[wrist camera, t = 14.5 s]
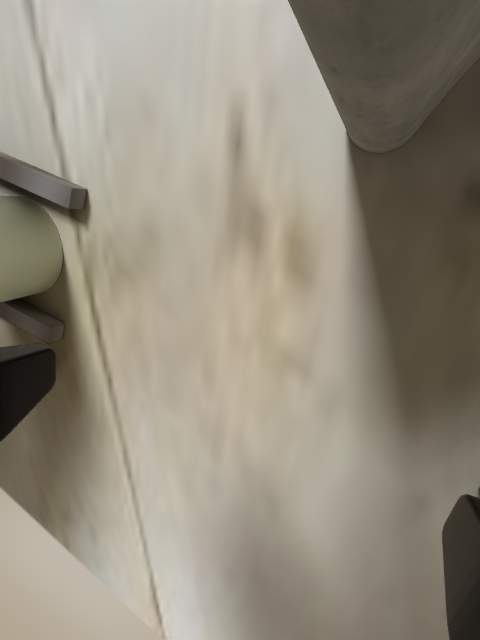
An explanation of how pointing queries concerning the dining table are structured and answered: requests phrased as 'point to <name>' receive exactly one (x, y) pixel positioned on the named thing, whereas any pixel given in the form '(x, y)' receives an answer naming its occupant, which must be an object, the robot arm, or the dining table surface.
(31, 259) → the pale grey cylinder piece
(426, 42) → the hip flask
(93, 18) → the dining table surface
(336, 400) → the dining table surface
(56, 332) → the walnut overhang
